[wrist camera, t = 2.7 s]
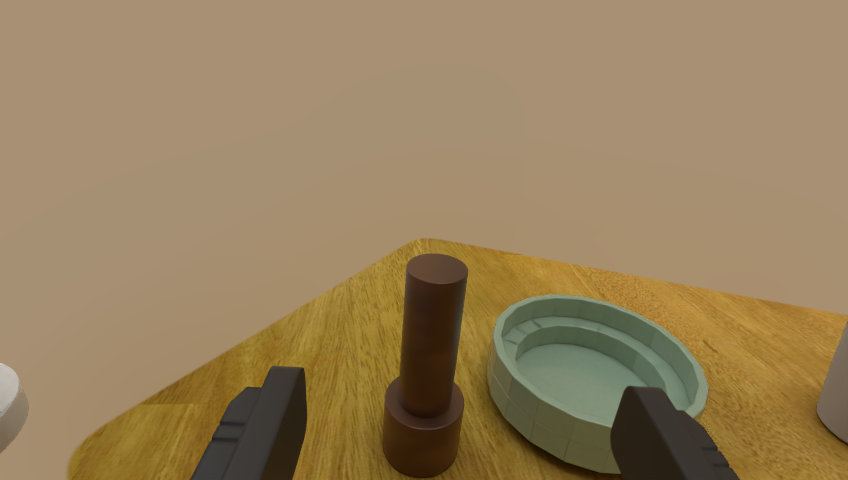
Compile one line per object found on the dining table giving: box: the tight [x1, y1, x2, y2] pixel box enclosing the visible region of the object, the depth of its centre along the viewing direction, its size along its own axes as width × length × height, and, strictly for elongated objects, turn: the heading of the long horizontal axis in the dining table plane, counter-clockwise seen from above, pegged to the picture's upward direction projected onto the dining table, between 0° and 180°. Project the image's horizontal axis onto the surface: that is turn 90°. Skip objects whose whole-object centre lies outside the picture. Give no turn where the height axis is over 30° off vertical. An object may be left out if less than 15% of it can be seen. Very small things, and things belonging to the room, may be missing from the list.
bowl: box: [486, 294, 709, 474], centre depth 33 cm, size 14×14×4 cm
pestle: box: [383, 254, 468, 477], centre depth 26 cm, size 5×5×13 cm
